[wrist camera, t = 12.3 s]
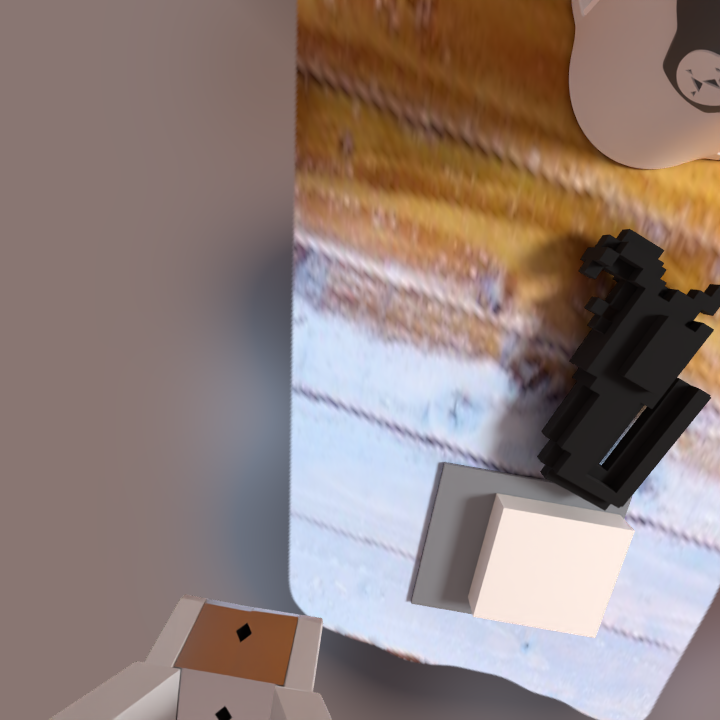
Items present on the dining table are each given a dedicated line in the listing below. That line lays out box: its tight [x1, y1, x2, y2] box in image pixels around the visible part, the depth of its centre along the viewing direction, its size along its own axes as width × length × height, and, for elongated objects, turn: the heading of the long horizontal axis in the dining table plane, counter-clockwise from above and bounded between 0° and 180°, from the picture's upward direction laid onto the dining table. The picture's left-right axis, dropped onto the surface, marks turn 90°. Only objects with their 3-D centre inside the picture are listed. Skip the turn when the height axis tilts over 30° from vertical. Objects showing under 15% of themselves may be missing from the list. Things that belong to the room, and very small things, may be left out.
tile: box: [468, 493, 635, 638], centre depth 42 cm, size 2×12×12 cm
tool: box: [537, 229, 720, 511], centre depth 37 cm, size 5×20×15 cm
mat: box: [411, 462, 632, 614], centre depth 44 cm, size 18×16×1 cm
